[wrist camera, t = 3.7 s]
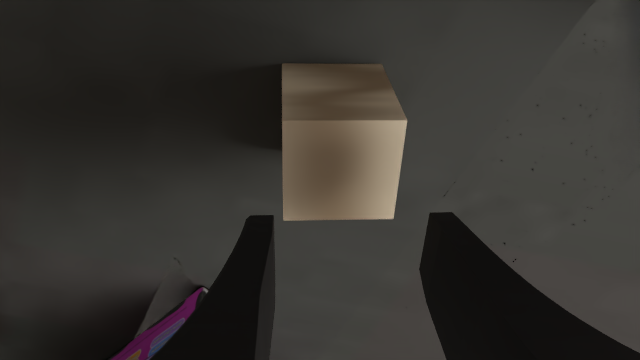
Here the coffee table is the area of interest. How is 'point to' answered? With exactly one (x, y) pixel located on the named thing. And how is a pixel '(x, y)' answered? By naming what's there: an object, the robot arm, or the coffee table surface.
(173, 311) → the candy bar box
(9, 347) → the coffee table surface
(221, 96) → the coffee table surface
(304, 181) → the beech block
